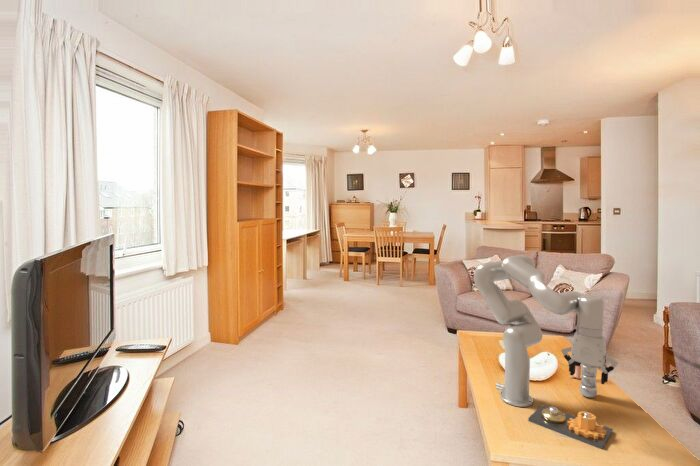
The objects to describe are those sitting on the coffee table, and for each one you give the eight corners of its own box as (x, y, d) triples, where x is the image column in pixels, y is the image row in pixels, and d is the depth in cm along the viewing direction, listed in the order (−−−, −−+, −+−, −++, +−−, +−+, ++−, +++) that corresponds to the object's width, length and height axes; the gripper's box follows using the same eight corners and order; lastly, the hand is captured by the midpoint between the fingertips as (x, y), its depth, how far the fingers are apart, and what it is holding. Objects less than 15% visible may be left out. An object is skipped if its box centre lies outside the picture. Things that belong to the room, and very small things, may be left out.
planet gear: (562, 429, 138) (563, 415, 138) (573, 416, 146) (573, 403, 146) (600, 443, 129) (601, 428, 129) (609, 429, 138) (610, 415, 137)
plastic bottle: (577, 396, 164) (578, 350, 163) (581, 390, 169) (583, 346, 168) (594, 401, 160) (596, 354, 159) (599, 395, 165) (600, 350, 163)
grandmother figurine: (568, 378, 181) (569, 352, 180) (566, 375, 185) (567, 349, 184) (587, 380, 179) (588, 353, 179) (584, 377, 183) (585, 350, 182)
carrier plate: (528, 420, 146) (528, 402, 145) (542, 407, 155) (542, 390, 155) (602, 449, 128) (602, 428, 128) (612, 432, 138) (613, 412, 137)
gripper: (559, 328, 139) (557, 374, 140) (616, 340, 127) (613, 390, 128) (566, 323, 144) (564, 368, 146) (621, 334, 132) (619, 383, 133)
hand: (587, 378), depth 137 cm, fingers open, 9 cm apart
